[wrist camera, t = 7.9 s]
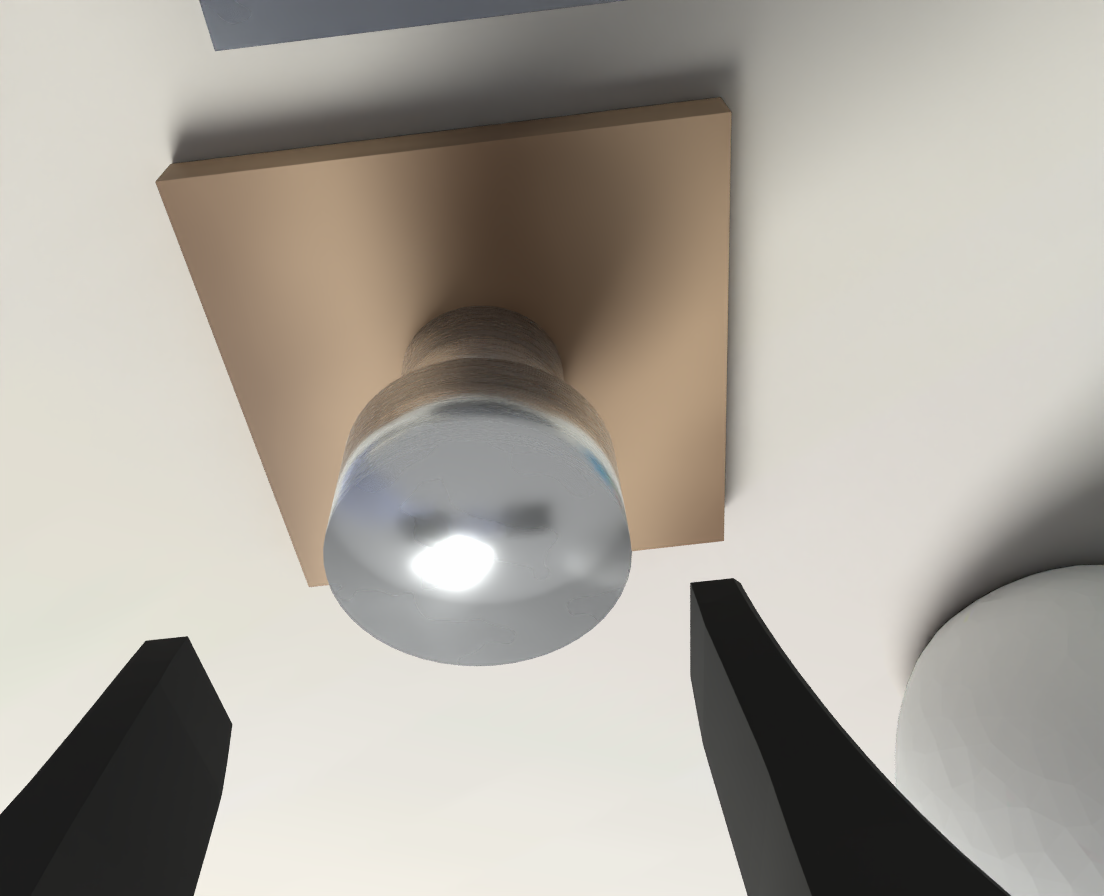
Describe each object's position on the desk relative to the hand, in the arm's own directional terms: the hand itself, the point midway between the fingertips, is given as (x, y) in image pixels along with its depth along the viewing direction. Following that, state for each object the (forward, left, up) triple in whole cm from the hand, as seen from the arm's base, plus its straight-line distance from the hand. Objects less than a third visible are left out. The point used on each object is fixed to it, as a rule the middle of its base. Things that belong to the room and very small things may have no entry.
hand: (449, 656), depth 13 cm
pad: (0, -1, -9) cm, 9 cm away
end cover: (0, -1, -8) cm, 8 cm away
